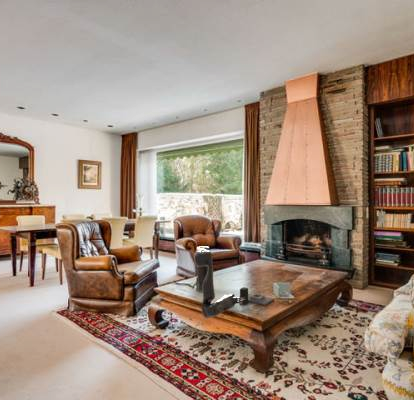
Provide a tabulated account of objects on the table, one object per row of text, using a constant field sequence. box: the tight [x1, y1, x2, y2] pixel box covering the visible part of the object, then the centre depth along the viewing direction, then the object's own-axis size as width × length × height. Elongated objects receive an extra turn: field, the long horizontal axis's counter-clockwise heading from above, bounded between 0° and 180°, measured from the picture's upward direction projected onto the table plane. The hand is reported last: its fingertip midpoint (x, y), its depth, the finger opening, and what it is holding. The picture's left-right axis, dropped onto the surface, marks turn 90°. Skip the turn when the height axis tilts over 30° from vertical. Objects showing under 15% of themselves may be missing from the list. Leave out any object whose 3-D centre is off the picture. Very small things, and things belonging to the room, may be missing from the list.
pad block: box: [239, 287, 249, 306], centre depth 207 cm, size 4×5×10 cm
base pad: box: [248, 293, 275, 307], centre depth 213 cm, size 18×14×3 cm
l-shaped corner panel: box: [273, 282, 296, 299], centre depth 224 cm, size 12×12×8 cm
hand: (239, 296), depth 202 cm, fingers open, 8 cm apart
